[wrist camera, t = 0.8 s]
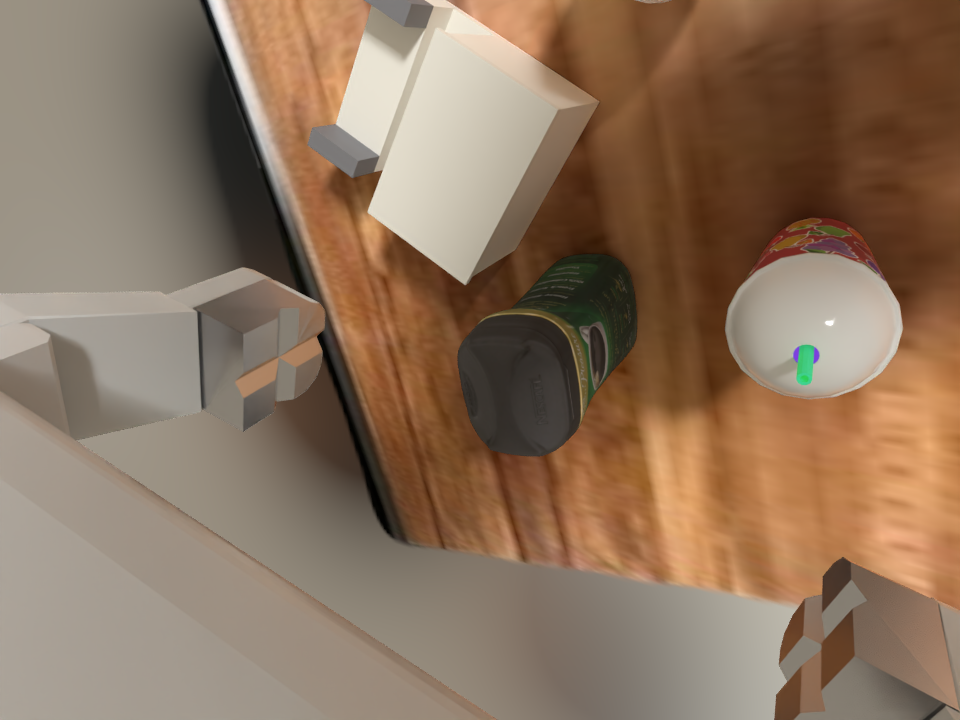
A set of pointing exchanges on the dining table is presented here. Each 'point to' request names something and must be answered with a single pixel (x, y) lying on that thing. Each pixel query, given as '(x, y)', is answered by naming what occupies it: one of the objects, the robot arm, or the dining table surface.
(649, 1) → the sauce bottle
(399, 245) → the dining table surface
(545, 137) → the cream armchair block
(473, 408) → the coffee jar
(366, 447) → the dining table surface
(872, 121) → the dining table surface
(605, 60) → the dining table surface
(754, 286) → the smoothie
